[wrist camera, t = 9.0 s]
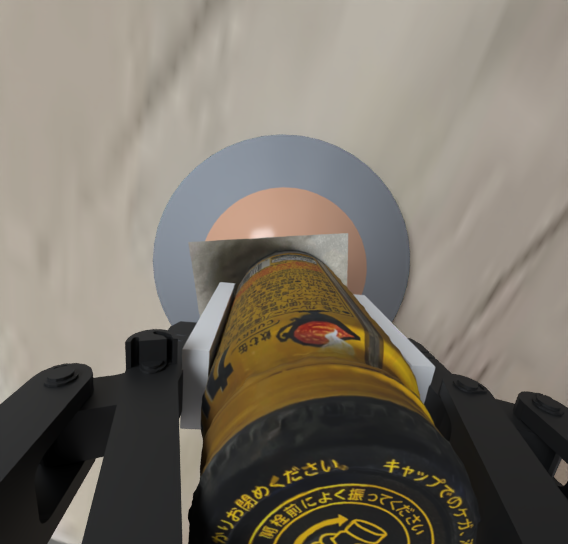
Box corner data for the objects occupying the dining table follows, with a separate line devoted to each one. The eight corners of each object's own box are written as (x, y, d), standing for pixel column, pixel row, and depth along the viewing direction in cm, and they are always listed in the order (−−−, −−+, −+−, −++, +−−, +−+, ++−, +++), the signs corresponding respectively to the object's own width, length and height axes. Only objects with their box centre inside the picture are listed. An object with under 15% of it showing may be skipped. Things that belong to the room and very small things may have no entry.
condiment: (345, 351, 17) (502, 665, 6) (206, 361, 17) (73, 717, 5) (347, 232, 15) (586, 341, 4) (189, 240, 15) (-69, 389, 3)
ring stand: (159, 120, 20) (151, 115, 19) (428, 156, 22) (438, 153, 20) (158, 368, 25) (153, 377, 24) (377, 382, 27) (382, 392, 25)
